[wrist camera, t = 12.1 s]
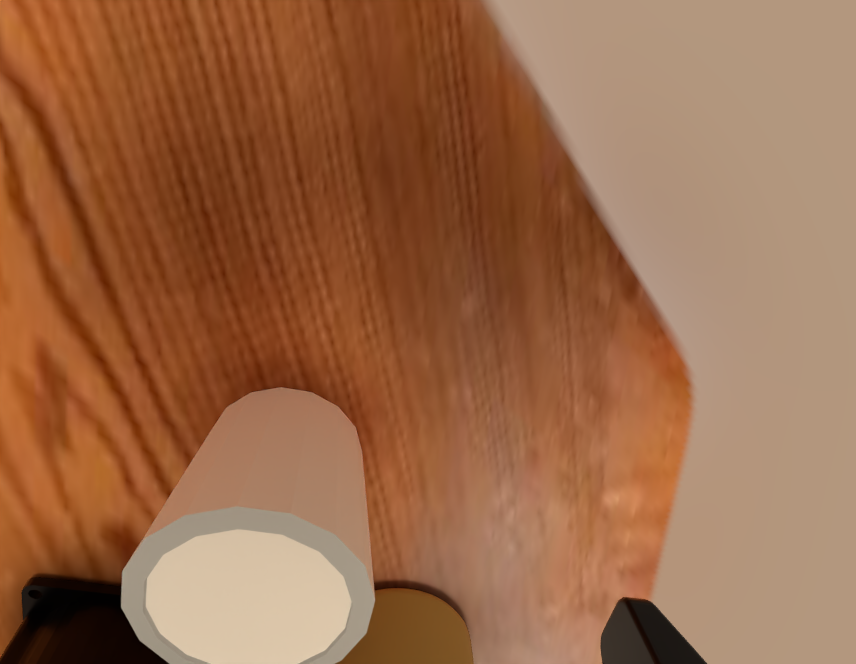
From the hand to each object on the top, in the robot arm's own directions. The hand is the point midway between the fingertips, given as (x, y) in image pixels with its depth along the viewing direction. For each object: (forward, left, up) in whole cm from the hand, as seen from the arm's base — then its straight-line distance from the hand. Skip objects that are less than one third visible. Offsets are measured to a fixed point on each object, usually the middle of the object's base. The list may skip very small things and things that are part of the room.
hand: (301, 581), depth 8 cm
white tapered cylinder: (-1, -8, -13) cm, 15 cm away
